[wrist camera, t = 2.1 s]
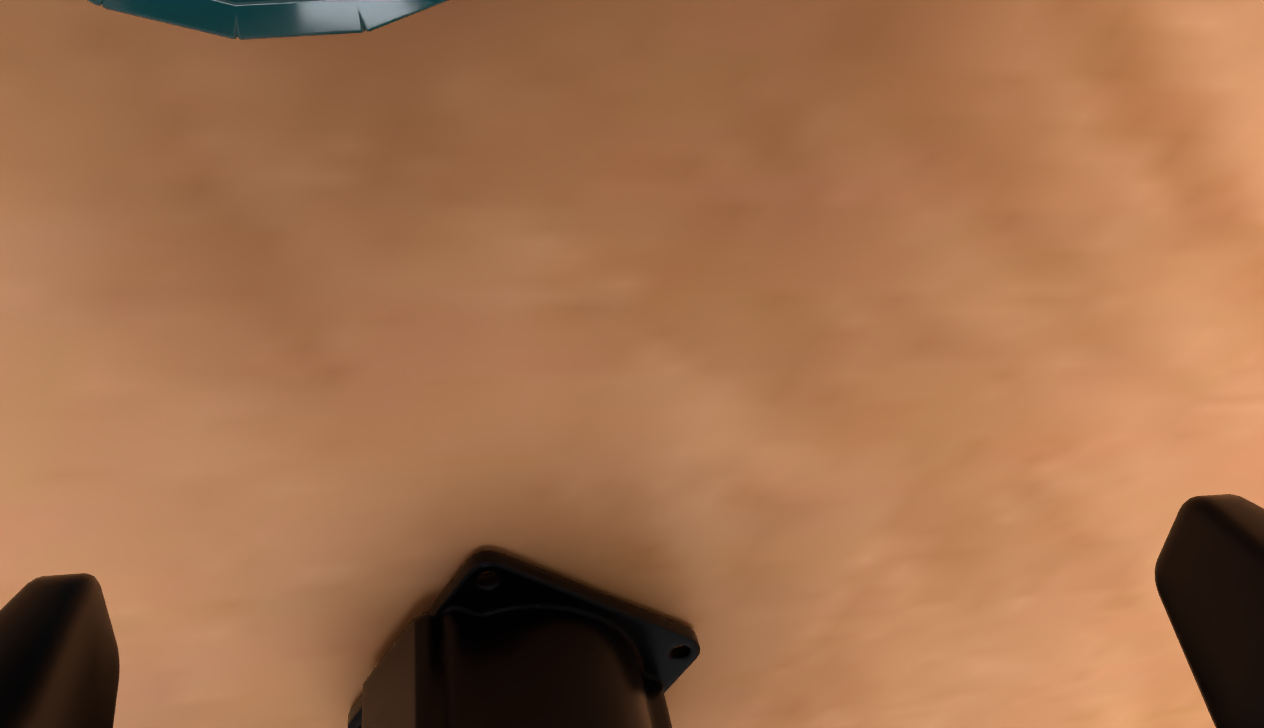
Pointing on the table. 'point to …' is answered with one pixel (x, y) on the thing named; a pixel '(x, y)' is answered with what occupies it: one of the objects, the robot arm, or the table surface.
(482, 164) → the table surface
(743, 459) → the table surface
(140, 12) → the teal bowl
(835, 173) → the table surface
